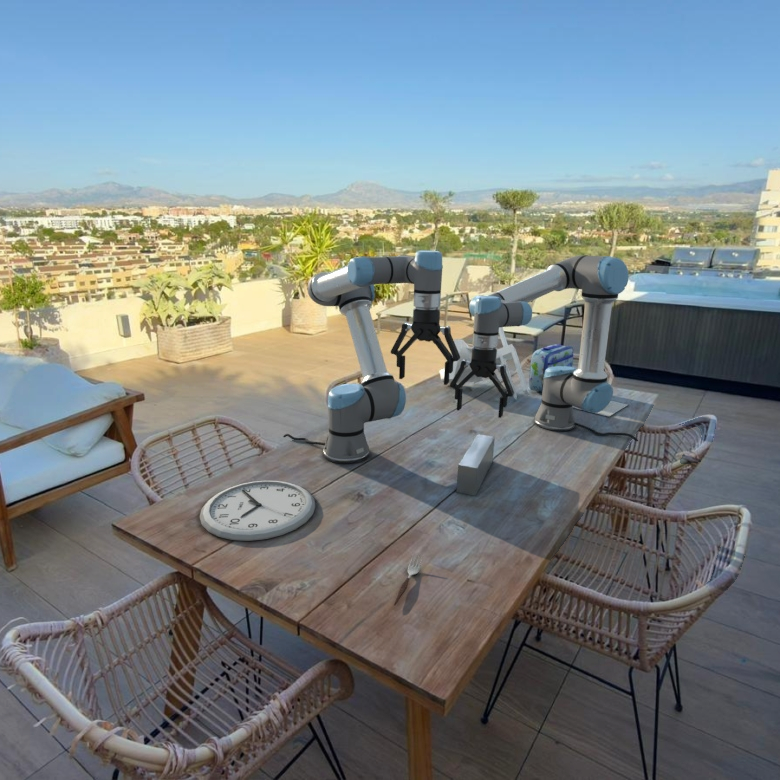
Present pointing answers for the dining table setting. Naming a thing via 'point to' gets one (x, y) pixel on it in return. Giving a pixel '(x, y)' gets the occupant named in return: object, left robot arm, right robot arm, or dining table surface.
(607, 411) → the invitation card
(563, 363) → the lunch box
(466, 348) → the white plastic object
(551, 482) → the dining table surface
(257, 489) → the wall clock
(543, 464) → the dining table surface
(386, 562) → the dining table surface
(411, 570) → the fork
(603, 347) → the right robot arm
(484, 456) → the bar
